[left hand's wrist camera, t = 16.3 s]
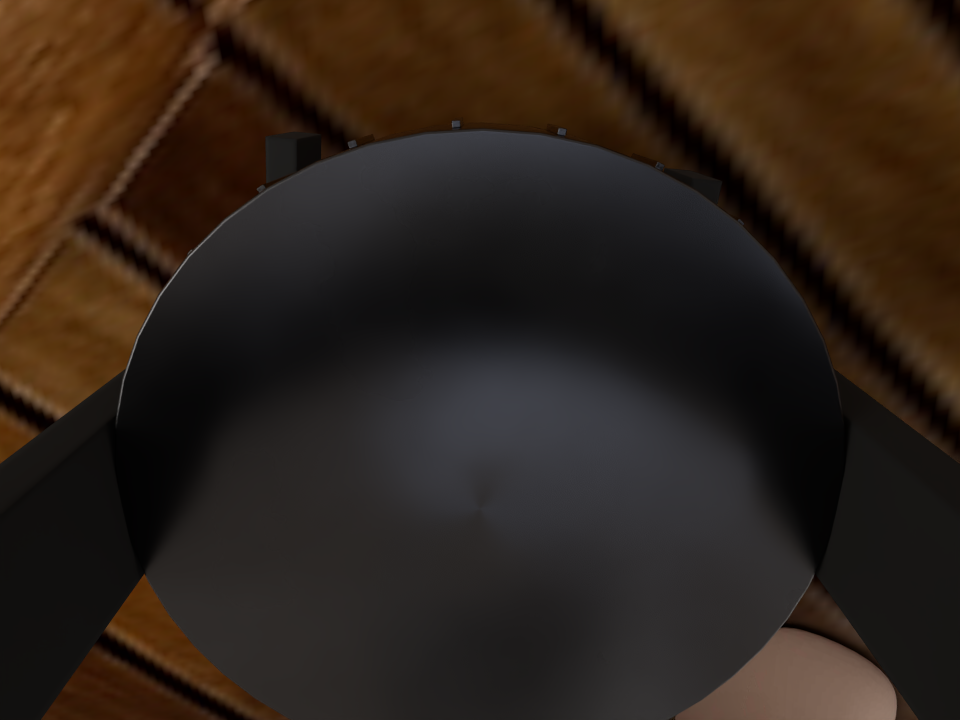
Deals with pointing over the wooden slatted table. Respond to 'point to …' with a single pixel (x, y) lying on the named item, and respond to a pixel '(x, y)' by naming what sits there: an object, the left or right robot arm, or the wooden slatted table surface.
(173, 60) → the wooden slatted table surface
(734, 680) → the anatomical model
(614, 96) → the wooden slatted table surface
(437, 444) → the lid
